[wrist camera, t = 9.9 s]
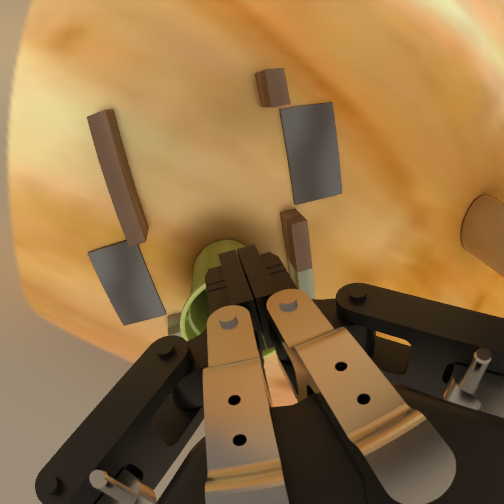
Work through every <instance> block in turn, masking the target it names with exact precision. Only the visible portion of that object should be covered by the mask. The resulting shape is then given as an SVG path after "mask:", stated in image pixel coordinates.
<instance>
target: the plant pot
mask: <svg viewBox="0 0 504 504" xmlns="http://www.w3.org/2000/svg"><path fill="white" fill-rule="evenodd" d="M241 247H245V245H244V244H242V243H240V242H237V241H234V240H220V241H217V242H214V243H211V244H210V245H208V246H206V247H205V248H204V249H203V250H202V252H201V253H200V254H199V256H198V257H197V259H196V261H195V264H194V270H193V280H192V288H191V295H190V296H189V297H188V299H187V301H186V302H185V304H184V306H183V309H182V312H181V317H180V329H181V334H182V337H183V338H184V339H185V340H186V341H189V340H191V339H192V338H194V337H196V336H198V335H200V334H201V333H202V332H203V331H204V330H205V329H206V328H207V321H208V318H209V317H210V310H209V304H208V297H207V291H206V284H205V275H206V273H207V271H208V269H210V268H214V267H218V266H221V264H220V260H219V256H218V254H219V253H223V252H227V251H230V250H234V249H235V250H236V253H237V249H238V248H241ZM237 255H238V253H237ZM238 258H239V257H238ZM262 336H263V335H262ZM263 340H264V337H263ZM264 344H265V348H266V350H263V351H262V354H263V358H264V359H265V358H266V357H269V356H271V355H273V354H274V353H276V351H275V348H274V347H273V348H270V349H268V348H267V346H266V343H265V340H264Z"/></svg>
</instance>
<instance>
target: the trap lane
mask: <svg viewBox="0 0 504 504" xmlns="http://www.w3.org/2000/svg"><path fill="white" fill-rule="evenodd" d="M255 75H256V80H257V85H258V91H259V96H260V101H261V106H262V107H276V106H282V105H288V104H290V99H289V94H288V88H287V83H286V77H285V72H284V68H277V69H269V70H264V71H261V72H258V73H256V74H255ZM279 110H280V116H281V122H282V127H283V133H284V139H285V145H286V152H287V158H288V164H289V171H290V177H291V184H292V191H293V198H294V204H295V205H298V204H302V203H306V202H310V201H314V200H318V199H322V198H326V197H330V196H334V195H339V194H342V183H341V172H340V161H339V152H338V143H337V134H336V126H335V118H334V111H333V104H332V102H330V103H321V104H313V105H305V106H298V107H291V108H285V109H279ZM87 120H88V123H89V127H90V131H91V135H92V138H93V142H94V145H95V149H96V152H97V156H98V159H99V162H100V165H101V169H102V172H103V175H104V178H105V181H106V184H107V187H108V190H109V193H110V196H111V199H112V202H113V205H114V208H115V211H116V213H117V216H118V219H119V222H120V224H121V227H122V230H123V232H124V235H125V237H126V240H125V241H122V242H118V243H115V244H112V245H109V246H106V247H103V248H100V249H96V250H93V251H90V252H88V256H89V258H90V260H91V262H92V264H93V267H94V269H95V271H96V273H97V275H98V277H99V279H100V281H101V283H102V285H103V287H104V289H105V291H106V293H107V295H108V297H109V299H110V301H111V303H112V305H113V307H114V309H115V311H116V313H117V314H118V316H119V318H120V320H121V322H122V324H123V325H128V324H132V323H136V322H140V321H144V320H148V319H152V318H156V317H160V316H163V315H166V311H165V309H164V306H163V304H162V302H161V300H160V297H159V295H158V293H157V290H156V288H155V286H154V283H153V281H152V279H151V276H150V274H149V271H148V269H147V266H146V264H145V261H144V259H143V256H142V254H141V251H140V249H139V246H138V244H141V243H144V242H146V239H147V234H148V229H149V227H148V224H147V222H146V219H145V216H144V213H143V210H142V207H141V204H140V201H139V197H138V194H137V191H136V188H135V185H134V182H133V178H132V175H131V172H130V169H129V165H128V162H127V158H126V155H125V151H124V148H123V144H122V141H121V137H120V133H119V130H118V126H117V122H116V118H115V114H114V110H113V109H112V110H104V111H101V112H98V113H96V114H93V115H91V116H88V117H87ZM280 215H281V221H282V227H283V234H284V240H285V247H286V254H287V260H288V267H289V274H290V277H291V279H292V280H293V282H294V283H295V285H296V287H297V288H298V290H301V291H304V292H305V293H306V294H307V295H308V296H309V297H310V298H311V299H315V295H314V283H313V272H312V262H311V252H310V242H309V233H308V224H307V220H306V219H305V218H304V217H303V216H302V215H301V214H300V213H299V212H298V211H297V210H296V209H293V210H289V211H285V212H281V213H280ZM180 317H181V313H179V314H176V315H172V316H168V336H170V335H176V336H180V337H182V334H181V329H180ZM182 338H183V337H182Z"/></svg>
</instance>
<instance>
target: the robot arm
mask: <svg viewBox="0 0 504 504" xmlns="http://www.w3.org/2000/svg"><path fill="white" fill-rule="evenodd" d="M461 241H462V245H463V247H464V249H466V250H467V251H468V252H470V253H471V254H473V255H474V256H475V257H477V258H478V259H480V260H481V261H482V262H484V263H485V264H486V265H488V266H489V267H490V268H492V269H493V270H494V271H496V272H497V273H498V274H500V275H501V276H502V277H504V203H503V202H501V201H499V200H497V199H495V198H493V197H491V196H489V195H483V196H480V197H479V198H477V199H476V200H475V201H474V203H473V204H472V205H471V207H470V208H469V210H468V212H467V214H466V217H465V219H464V223H463V226H462V233H461ZM237 253H238V255H237ZM237 253H236V250H235V249H234V250H230V251H227V252H223V253H219V254H218V256H219V260H220V264H221V266H218V267H214V268H210V269H208V271H207V273H206V275H205V284H206V291H207V297H208V304H209V310H210V317H209V318H208V321H207V328H206V329H205V330H204V331H203V332H202V333H201V334H200V335H198V336H196V337H194V338H192V339H191V340H189V341H186V340H185V339H184V338H182V337H180V336H176V335H170V336H165V337H162V338H160V339H158V340H156V341H155V342H154V343H152V344H151V345H150V346H149V348H148V349H147V350H146V351H145V352H144V353H143V354H142V355H141V357H140V358H139V359H138V360H137V361H136V362H135V363H134V364H133V366H132V367H131V368H130V369H129V370H128V371H127V372H126V373H125V375H124V376H123V377H122V378H121V379H120V380H119V381H118V382H117V384H116V385H115V386H114V387H113V388H112V389H111V390H110V392H109V393H108V394H107V395H106V396H105V397H104V398H103V400H102V401H101V402H100V403H99V404H98V405H97V406H96V408H95V409H94V410H93V411H92V412H91V413H90V414H89V416H88V417H87V418H86V419H85V420H84V421H83V422H82V424H81V425H80V426H79V427H78V428H77V429H76V431H75V432H74V433H73V434H72V435H71V436H70V438H69V439H68V440H67V441H66V442H65V443H64V444H63V445H62V447H61V448H60V449H59V450H58V451H57V453H56V454H55V455H54V456H53V457H52V458H51V460H50V461H49V462H48V463H47V464H46V465H45V467H44V468H43V469H42V470H41V471H40V473H39V474H38V476H37V479H36V482H35V490H36V494H37V497H38V499H39V500H40V501H41V502H42V503H43V504H504V318H500V317H496V316H492V315H488V314H484V313H480V312H476V311H472V310H468V309H464V308H460V307H456V306H452V305H448V304H444V303H440V302H436V301H432V300H428V299H424V298H420V297H416V296H412V295H408V294H404V293H400V292H397V291H393V290H389V289H385V288H381V287H377V286H373V285H369V284H365V283H352V284H348V285H345V286H343V287H342V288H340V289H339V290H338V292H337V294H336V299H325V300H316V299H311V298H310V297H309V296H308V295H307V294H306V293H305V292H304V291H301V290H298V288H297V287H296V285H295V283H294V282H293V280H292V279H291V277H290V275H289V274H288V272H287V271H286V269H285V267H284V265H283V264H282V262H281V260H280V259H279V257H278V256H276V255H274V254H272V253H270V252H268V253H265V254H261V255H259V253H258V251H257V249H256V247H255V245H254V244H252V245H249V246H245V247H241V248H238V249H237ZM238 257H239V258H238ZM376 331H378V332H381V333H385V334H388V335H391V336H395V337H398V338H401V339H404V340H406V341H408V342H409V343H410V344H411V346H408V345H404V344H401V343H398V342H394V341H391V340H388V339H384V338H381V337H378V336H376ZM262 335H263V336H262ZM263 337H264V340H265V343H266V346H267V348H268V349H270V348H273V347H274V348H275V351H276V353H277V358H278V363H279V365H280V367H281V369H282V371H283V373H284V375H285V377H286V379H287V381H288V383H289V385H290V387H291V389H292V391H293V393H294V395H295V397H296V399H297V401H298V403H296V404H294V405H291V406H281V407H273V404H272V400H271V395H270V391H269V386H268V382H267V378H266V373H265V369H264V358H263V354H262V351H263V350H266V348H265V344H264V340H263ZM168 396H169V397H168ZM203 419H204V420H205V437H204V438H202V439H201V440H200V441H199V442H198V443H197V444H196V445H195V446H194V447H193V448H192V450H191V451H190V452H189V454H188V455H187V457H186V458H185V460H184V462H183V463H182V465H181V466H180V468H179V469H178V471H177V472H176V474H175V475H174V477H173V479H172V480H171V482H170V483H169V485H168V486H167V488H166V489H165V491H164V492H163V494H162V495H161V497H160V498H159V500H158V501H156V495H155V493H154V491H153V490H154V489H155V487H156V486H157V484H158V483H159V482H160V481H161V479H162V478H163V476H164V475H165V474H166V472H167V471H168V469H169V468H170V467H171V465H172V464H173V462H174V461H175V460H176V458H177V457H178V455H179V454H180V453H181V451H182V450H183V448H184V447H185V445H186V444H187V442H188V441H189V439H190V438H191V437H192V435H193V434H194V432H195V431H196V429H197V428H198V426H199V425H200V423H201V422H202V420H203ZM156 502H157V503H156Z"/></svg>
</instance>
